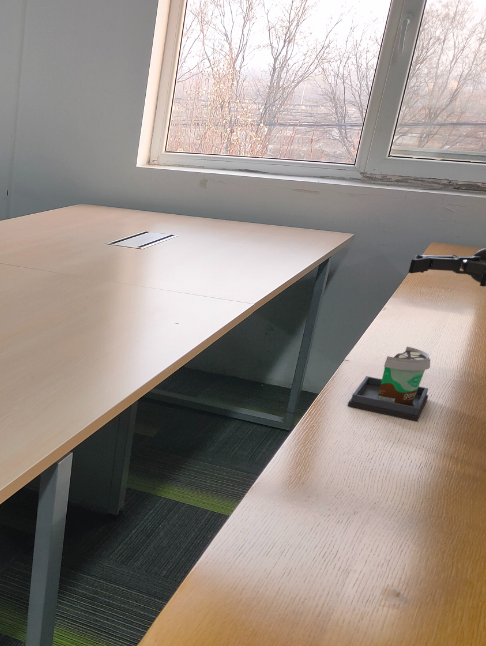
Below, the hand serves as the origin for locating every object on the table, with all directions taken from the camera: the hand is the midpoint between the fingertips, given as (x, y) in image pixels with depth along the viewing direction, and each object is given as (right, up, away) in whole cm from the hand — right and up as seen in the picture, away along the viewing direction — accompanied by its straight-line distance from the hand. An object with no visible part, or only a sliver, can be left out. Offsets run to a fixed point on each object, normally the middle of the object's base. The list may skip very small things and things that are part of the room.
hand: (446, 272), depth 159 cm
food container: (-8, -26, +2) cm, 27 cm away
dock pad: (-9, -26, +5) cm, 28 cm away
